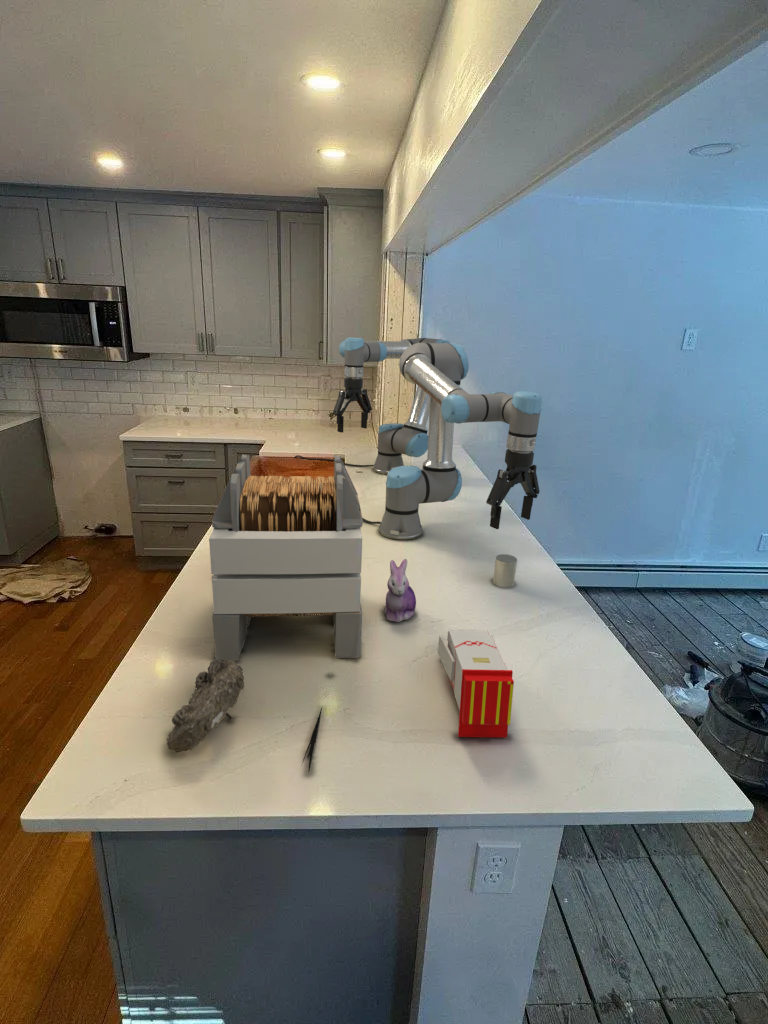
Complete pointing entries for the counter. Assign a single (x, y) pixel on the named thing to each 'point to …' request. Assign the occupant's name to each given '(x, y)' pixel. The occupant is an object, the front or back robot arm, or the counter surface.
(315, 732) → the feather
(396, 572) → the figurine
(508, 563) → the can
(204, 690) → the fossil
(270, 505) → the record crate
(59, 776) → the counter surface
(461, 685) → the toy
